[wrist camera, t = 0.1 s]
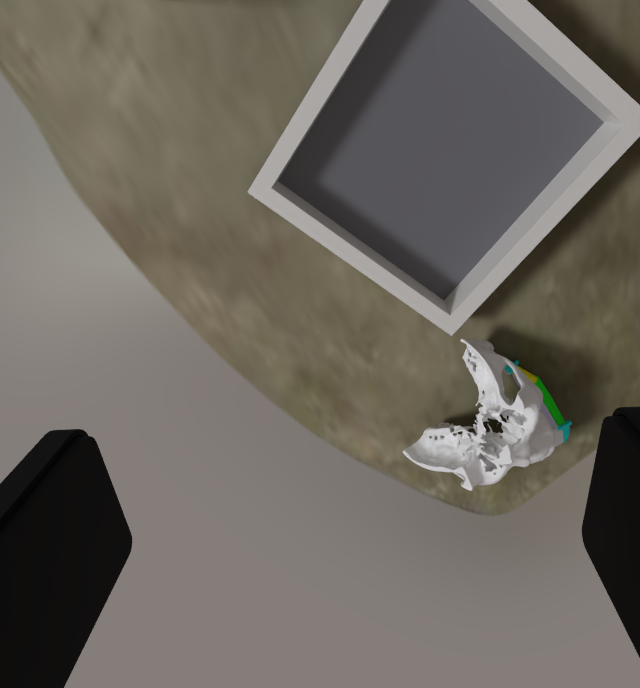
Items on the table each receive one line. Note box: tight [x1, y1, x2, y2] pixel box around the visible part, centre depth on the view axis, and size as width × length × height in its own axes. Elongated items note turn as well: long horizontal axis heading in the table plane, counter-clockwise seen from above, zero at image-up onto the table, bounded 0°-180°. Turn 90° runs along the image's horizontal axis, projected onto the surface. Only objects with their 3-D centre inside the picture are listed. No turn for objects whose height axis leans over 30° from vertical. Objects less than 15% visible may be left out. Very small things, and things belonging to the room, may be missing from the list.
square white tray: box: [248, 0, 640, 336], centre depth 34 cm, size 18×18×4 cm
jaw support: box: [403, 338, 572, 491], centre depth 42 cm, size 12×9×10 cm
